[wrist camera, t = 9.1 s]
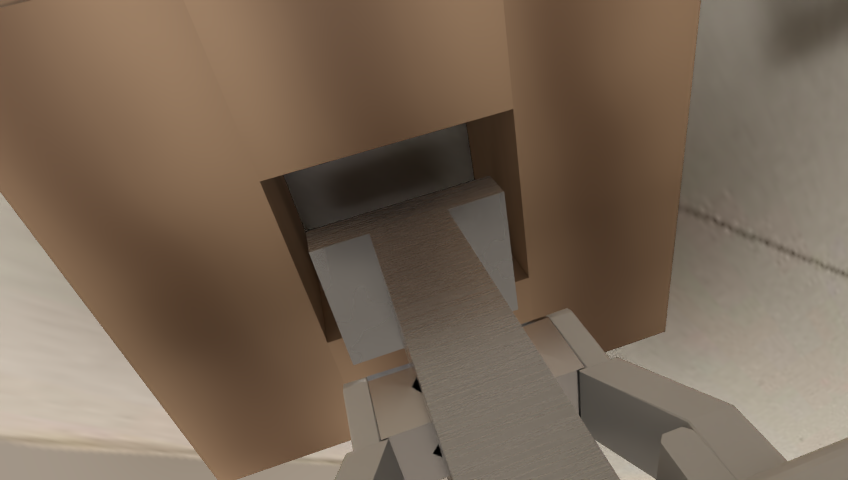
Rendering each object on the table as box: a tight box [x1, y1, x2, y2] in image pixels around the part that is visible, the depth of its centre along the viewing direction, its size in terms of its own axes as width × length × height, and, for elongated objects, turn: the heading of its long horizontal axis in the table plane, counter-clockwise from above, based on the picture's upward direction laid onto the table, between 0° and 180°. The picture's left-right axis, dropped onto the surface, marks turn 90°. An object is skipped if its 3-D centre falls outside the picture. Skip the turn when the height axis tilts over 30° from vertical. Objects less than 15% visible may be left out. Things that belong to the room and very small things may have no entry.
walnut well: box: [0, 0, 701, 480], centre depth 17 cm, size 18×16×5 cm
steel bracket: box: [306, 175, 620, 480], centre depth 11 cm, size 5×4×8 cm
